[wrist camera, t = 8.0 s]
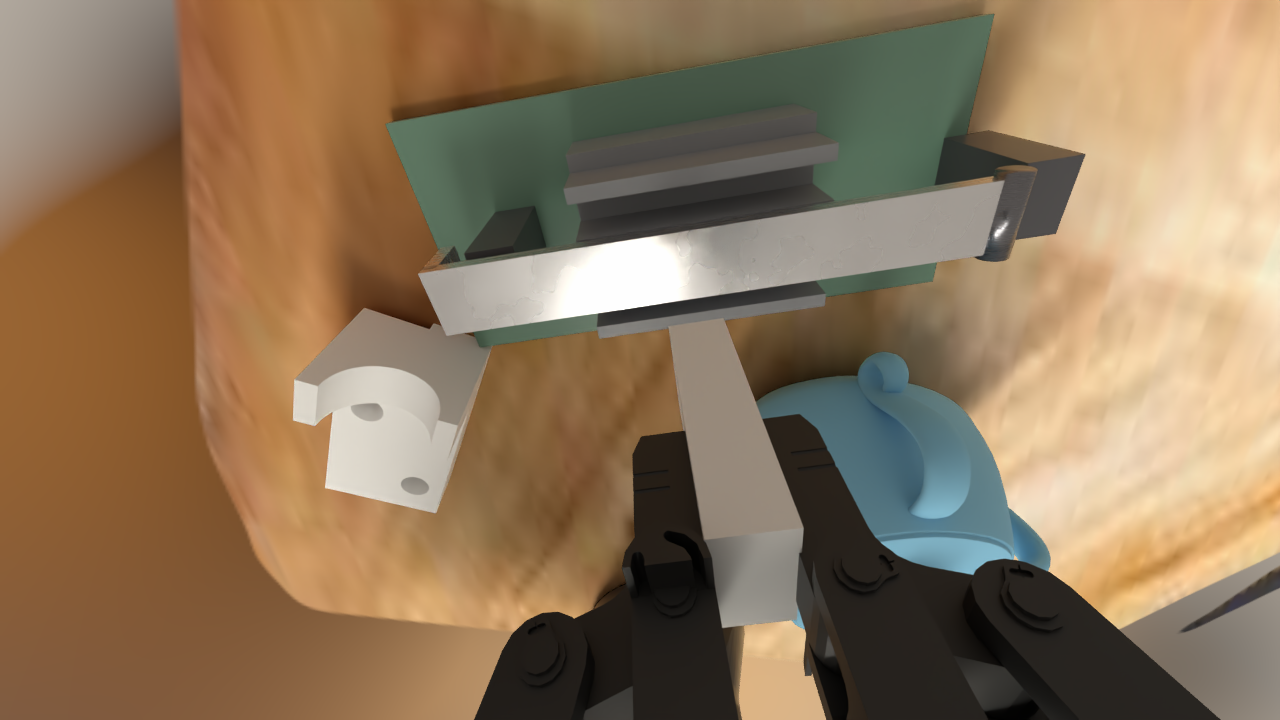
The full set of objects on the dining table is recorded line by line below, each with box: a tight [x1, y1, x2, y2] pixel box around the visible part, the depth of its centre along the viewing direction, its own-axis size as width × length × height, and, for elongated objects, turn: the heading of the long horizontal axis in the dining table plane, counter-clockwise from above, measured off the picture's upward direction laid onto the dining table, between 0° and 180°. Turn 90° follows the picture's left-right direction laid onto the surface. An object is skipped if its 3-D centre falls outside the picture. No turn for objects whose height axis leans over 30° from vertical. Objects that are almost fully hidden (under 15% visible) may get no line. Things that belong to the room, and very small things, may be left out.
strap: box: [418, 165, 1038, 336], centre depth 19 cm, size 3×23×3 cm, turn 99°
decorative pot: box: [756, 352, 1050, 629], centre depth 28 cm, size 16×16×14 cm
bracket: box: [293, 308, 492, 513], centre depth 28 cm, size 13×7×8 cm, turn 156°
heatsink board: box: [386, 14, 1085, 347], centre depth 21 cm, size 12×27×6 cm, turn 99°
